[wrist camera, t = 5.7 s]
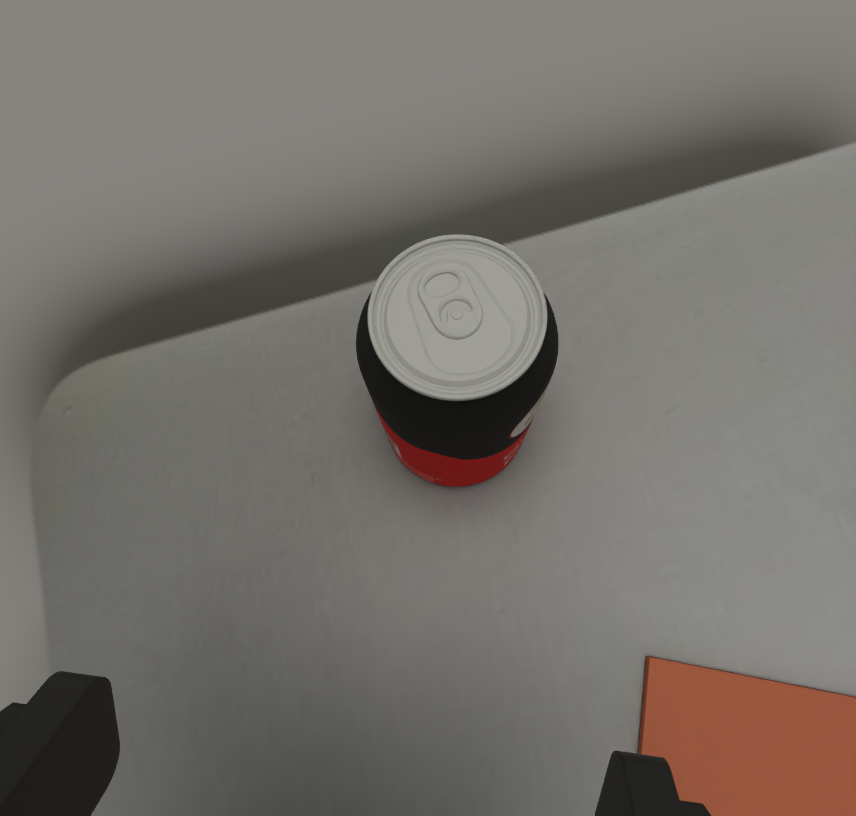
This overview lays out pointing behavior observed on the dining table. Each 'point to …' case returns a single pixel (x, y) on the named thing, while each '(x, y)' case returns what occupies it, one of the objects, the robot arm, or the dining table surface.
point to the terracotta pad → (750, 741)
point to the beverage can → (457, 356)
